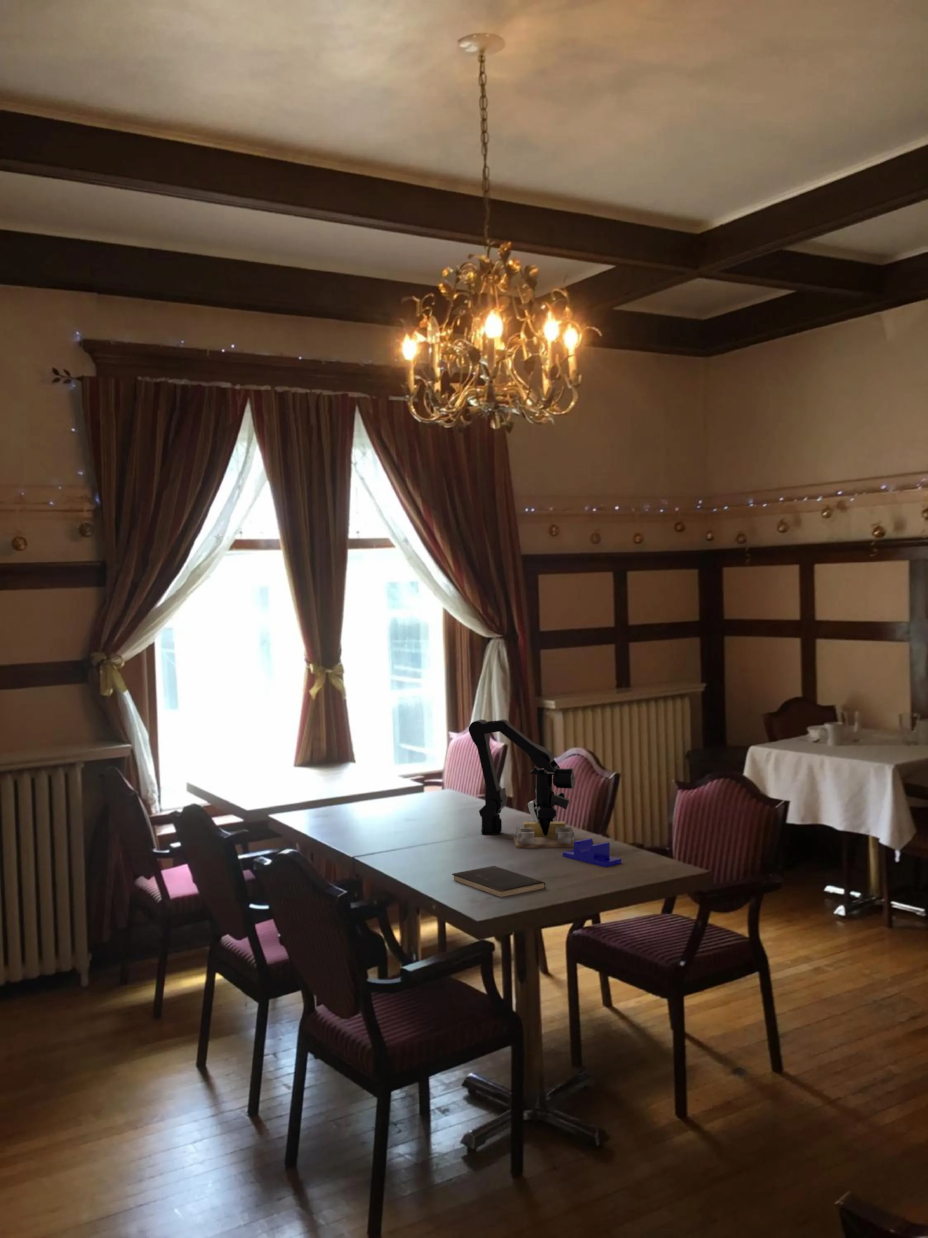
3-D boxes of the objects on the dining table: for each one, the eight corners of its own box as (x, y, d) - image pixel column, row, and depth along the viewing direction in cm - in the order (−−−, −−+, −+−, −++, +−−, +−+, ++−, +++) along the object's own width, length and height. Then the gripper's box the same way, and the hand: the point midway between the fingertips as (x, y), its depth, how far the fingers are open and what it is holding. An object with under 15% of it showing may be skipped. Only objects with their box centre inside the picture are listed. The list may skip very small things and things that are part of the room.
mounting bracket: (621, 864, 334) (621, 845, 334) (605, 868, 329) (605, 848, 329) (578, 854, 347) (578, 835, 347) (562, 858, 343) (562, 839, 343)
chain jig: (516, 848, 355) (516, 834, 355) (513, 840, 366) (513, 827, 366) (577, 847, 356) (577, 833, 355) (572, 839, 366) (572, 826, 366)
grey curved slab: (562, 827, 386) (553, 801, 385) (550, 833, 385) (541, 807, 383) (544, 818, 402) (535, 793, 401) (533, 823, 401) (524, 799, 399)
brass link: (524, 838, 370) (524, 824, 370) (523, 836, 373) (523, 821, 373) (565, 838, 370) (565, 823, 370) (564, 836, 374) (564, 821, 374)
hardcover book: (500, 899, 296) (500, 890, 296) (452, 881, 315) (451, 873, 315) (545, 889, 306) (545, 881, 305) (495, 873, 324) (495, 865, 324)
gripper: (571, 791, 362) (571, 838, 363) (564, 782, 381) (564, 826, 381) (537, 792, 362) (538, 839, 362) (532, 782, 381) (532, 827, 381)
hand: (544, 832), depth 372 cm, fingers open, 8 cm apart
